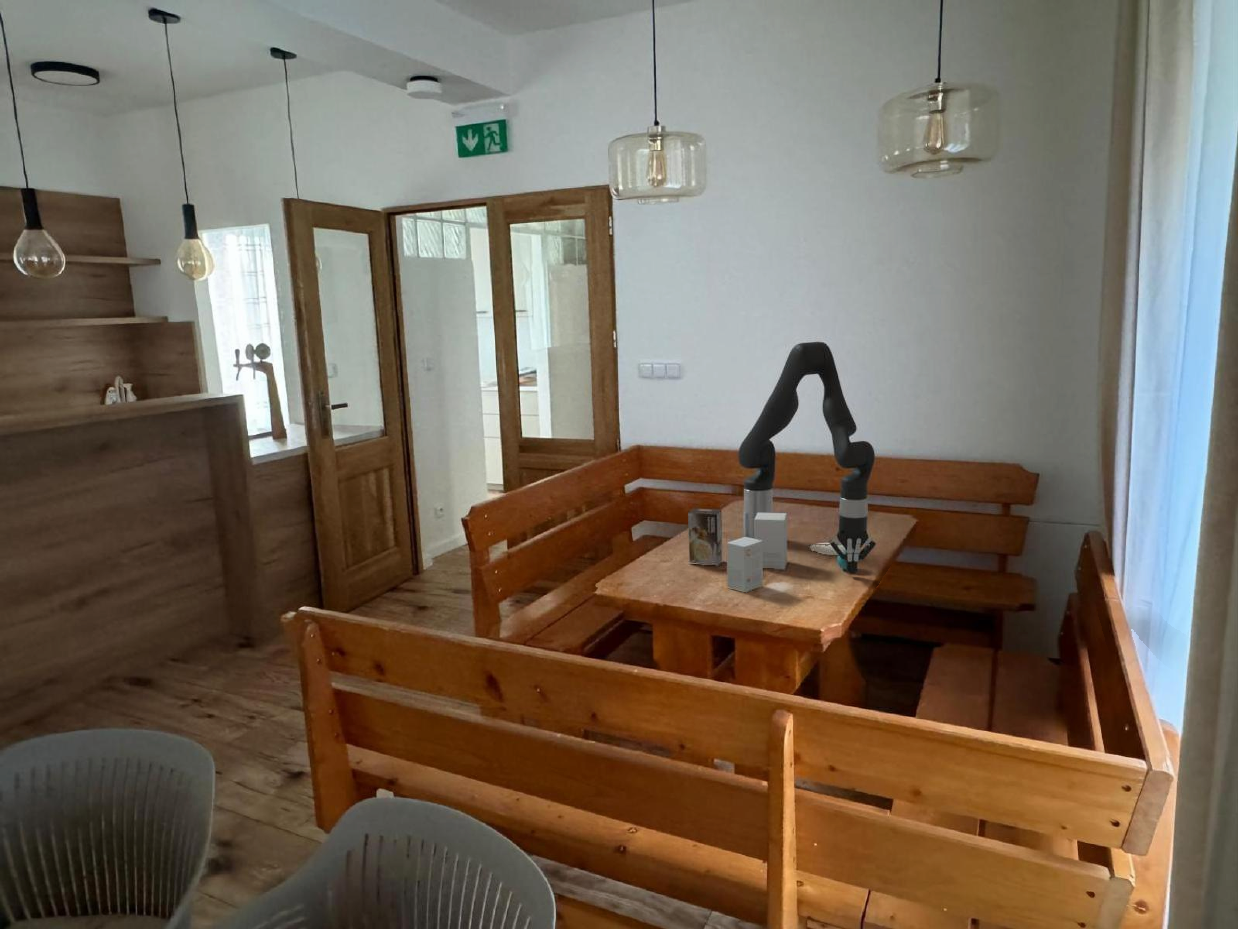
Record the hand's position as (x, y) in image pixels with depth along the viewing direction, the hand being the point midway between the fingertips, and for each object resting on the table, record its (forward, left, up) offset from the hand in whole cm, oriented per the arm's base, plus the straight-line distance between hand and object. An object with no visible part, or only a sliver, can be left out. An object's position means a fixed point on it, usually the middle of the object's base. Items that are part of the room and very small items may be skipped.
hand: (851, 573), depth 228 cm
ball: (0, +7, +2) cm, 7 cm away
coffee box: (-39, +16, -1) cm, 43 cm away
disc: (0, +28, -1) cm, 28 cm away
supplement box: (-20, +13, -1) cm, 24 cm away
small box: (-30, -7, -1) cm, 31 cm away
